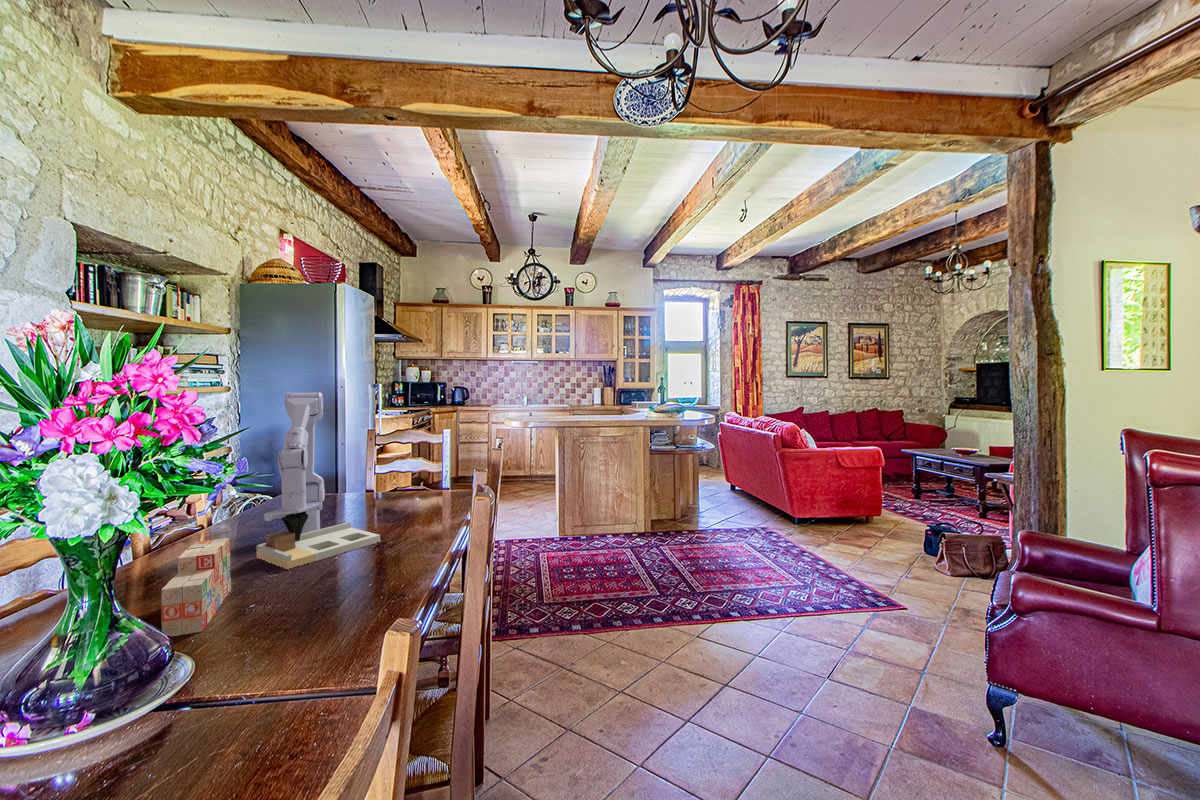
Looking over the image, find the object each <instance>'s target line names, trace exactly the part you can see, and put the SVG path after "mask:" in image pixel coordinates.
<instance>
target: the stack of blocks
mask: <svg viewBox="0 0 1200 800" xmlns="http://www.w3.org/2000/svg"><path fill="white" fill-rule="evenodd" d="M230 543H231V542H230V537H228V538H227V537H226V538H218V539H216V538H215V539H209V540H201V541H195V542H194V543H193V544H191V545H190V546H189V547H188V548H187V549H185V551H183V552H182V553H181V555H180V556H178V557H177V574H176V575H174V577H172V578H171V579H170V580H169V581H168V582H167V583H166V585H165V586H163V587H162V588H161V606H160V614H161V616H160V617H161V619H160V621H161V633H162V632H164V633H166V634H167V635H169V636H170V637H169V638H171V637H177V636H181V635H182V636H183V635H189V634H194V633H195V634H196V633H200V632H203V631H204V629H205V627H206V626H207V625H208V624H209V623H210V621H211V620H212V618H213V617H214V616H215V614H216V613H217V611H218V610H219V608H220V606H221V605H222V604H223V602H224V601H225V600H226V598H227V597H228V595H229V594H230V593H231V592H232V578H231V544H230ZM229 592H230V593H229ZM228 593H229V594H228ZM226 596H227V597H226ZM224 599H225V600H224ZM223 600H224V601H223ZM222 601H223V602H222ZM220 604H221V605H220ZM218 607H219V608H218Z"/></svg>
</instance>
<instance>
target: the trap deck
mask: <svg viewBox="0 0 1200 800" xmlns="http://www.w3.org/2000/svg"><path fill="white" fill-rule="evenodd" d="M351 526H352V525H351V522H343V523H340V524H337V525H336V524H335V525H332V526H328V527H324V528H320V529H319V530H315V531H311V532H307V533H303V534H301V536H300V540H299V541H296V542H295V548H294V549H290V550H286V551H283V552H282V551H279V550H276V549H273V548H270V547H267V546H266V542H263V543H259V544H256V546H255V547H256V548H255V550H256V559H258V558H259V559H258V560H260V559H262V560H261V561H263V560H265V561H264V562H266V561H267V562H266V563H269V564H271V563H272V565H274V564H275V566H277V567H279V566H280V568H282V567H283V568H282V569H285V570H287V569H288V570H291V569H295V568H297V566H298V567H301V566H304V564H305V565H307V563H308V564H311V563H314V562H317V561H321V560H324V559H327V558H331V557H334V556H338V555H340V554H344V552H345V553H347V552H351V551H354V550H357V549H361V548H363V547H368V546H371V545H373V544H377V542H378V543H380V542H381V534H377V533H373V532H369V531H365V530H363V529H362V530H361V529H359V528H355V527H354V528H353V527H351ZM294 567H295V568H294ZM290 568H291V569H290Z"/></svg>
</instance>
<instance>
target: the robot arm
mask: <svg viewBox="0 0 1200 800" xmlns="http://www.w3.org/2000/svg"><path fill="white" fill-rule="evenodd" d="M323 396H324V395H323V394H322V392H320V391H319V392H290V391H288V392H287V393H286V394H285V395H284V408H285V411H286V413H287V416H288V418H289V419H290V421H291V425H290V427H291V428H289V429H288V430H287V431H286V432H285V437H284V442H283V447H282V451H279V452H278V455H277V465H278V470H279V477H280V478H281V505H282V506H281V508H278V509H275V510H271V511H268V512H264V513H263V517H264V519H263V521H266V522H271V521H273V520H277V519H281V521H282V522H283V524H284V526H285V527H286V530H287V531H288V532H291V533H295V542H296V541H299V540H300V536H301V534H303V533H307V532H311V531H315V530H319V529H321V517H320V516H321V514H320V511H321V510H323V502H324V501H325V494H326V493H325V492H326V489H325V480H324V478H323V477H322V476H320V475H318V473H316V472H315V446H316V445H315V444H316V442H315V437H316V436H315V433H316V432H315V431H316V425H317V422H318V421H320V420H322V419H323V416H324V397H323Z"/></svg>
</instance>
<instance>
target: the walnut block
mask: <svg viewBox="0 0 1200 800" xmlns="http://www.w3.org/2000/svg"><path fill="white" fill-rule="evenodd" d="M265 543H266V546H267V547H270V548H273V549H276V550H279V551H282V552H283V551H286V550H290V549H294V548H295V533H291V532H288V530H283V531H278V532H274V533H271V534H267V535H265Z"/></svg>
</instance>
